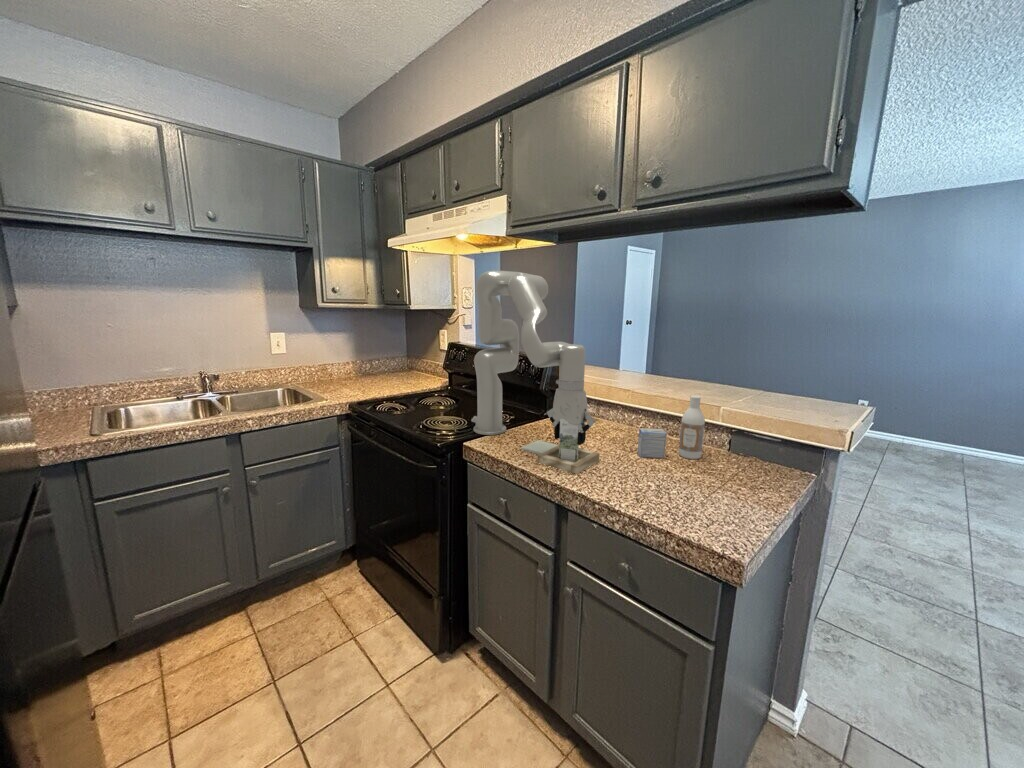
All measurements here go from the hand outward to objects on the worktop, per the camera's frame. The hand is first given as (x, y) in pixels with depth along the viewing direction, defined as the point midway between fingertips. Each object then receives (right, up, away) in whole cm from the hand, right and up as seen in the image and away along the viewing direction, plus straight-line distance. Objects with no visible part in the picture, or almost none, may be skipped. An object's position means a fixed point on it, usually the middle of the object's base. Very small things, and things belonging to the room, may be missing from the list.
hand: (569, 440), depth 130 cm
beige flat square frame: (0, -7, +1) cm, 7 cm away
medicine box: (+28, -6, +7) cm, 29 cm away
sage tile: (-8, -5, +12) cm, 15 cm away
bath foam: (+41, -6, +7) cm, 42 cm away
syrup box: (0, -7, +1) cm, 7 cm away
